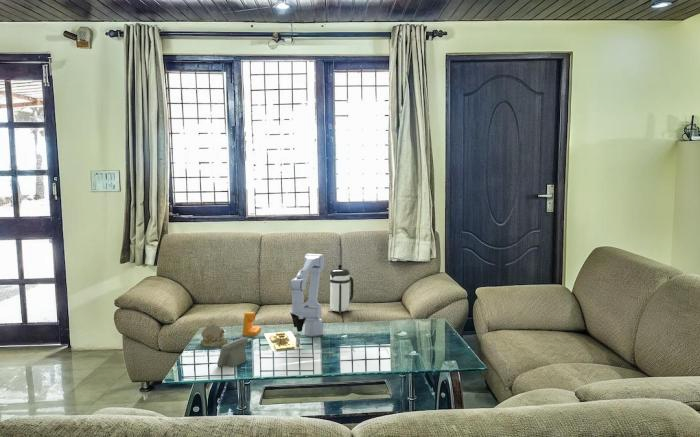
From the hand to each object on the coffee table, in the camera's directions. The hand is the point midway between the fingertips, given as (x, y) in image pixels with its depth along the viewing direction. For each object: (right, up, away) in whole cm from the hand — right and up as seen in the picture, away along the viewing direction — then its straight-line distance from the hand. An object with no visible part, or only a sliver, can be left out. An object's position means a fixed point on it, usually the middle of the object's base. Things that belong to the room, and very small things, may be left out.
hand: (297, 329), depth 258 cm
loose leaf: (-11, -7, +11) cm, 17 cm away
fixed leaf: (-7, -8, +1) cm, 11 cm away
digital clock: (-28, -11, -20) cm, 36 cm away
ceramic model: (-44, -9, +7) cm, 45 cm away
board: (-9, -9, +9) cm, 15 cm away
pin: (0, -9, +1) cm, 9 cm away
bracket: (-27, -7, +22) cm, 35 cm away
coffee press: (+20, -3, +67) cm, 70 cm away
